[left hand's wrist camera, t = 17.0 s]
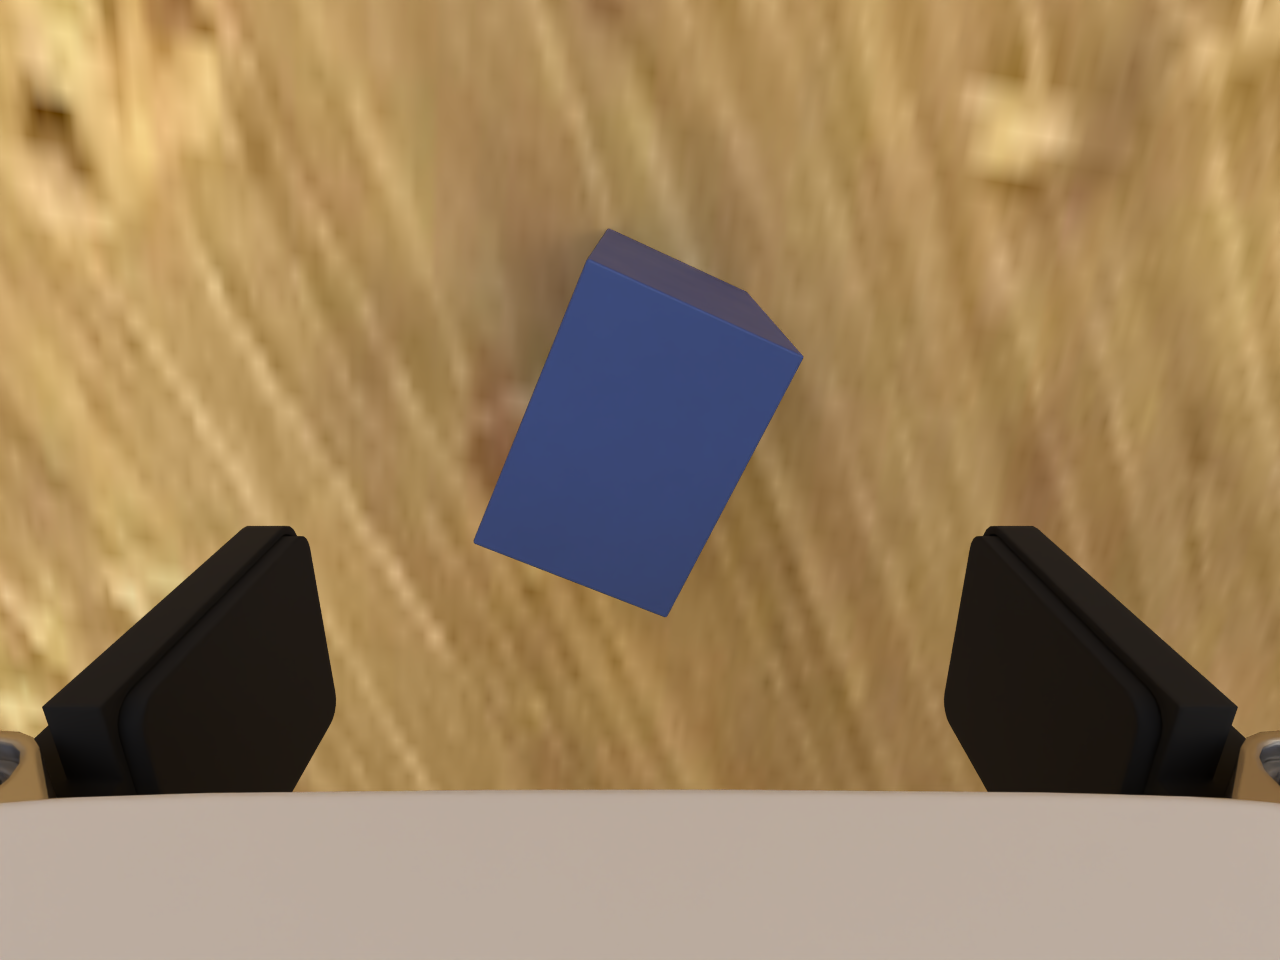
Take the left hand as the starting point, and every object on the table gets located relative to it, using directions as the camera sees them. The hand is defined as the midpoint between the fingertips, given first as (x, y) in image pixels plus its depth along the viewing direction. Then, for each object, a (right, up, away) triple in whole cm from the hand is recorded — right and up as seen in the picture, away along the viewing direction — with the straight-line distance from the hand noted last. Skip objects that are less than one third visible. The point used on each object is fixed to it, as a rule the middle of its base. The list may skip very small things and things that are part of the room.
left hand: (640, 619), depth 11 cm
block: (0, +6, +17) cm, 18 cm away
